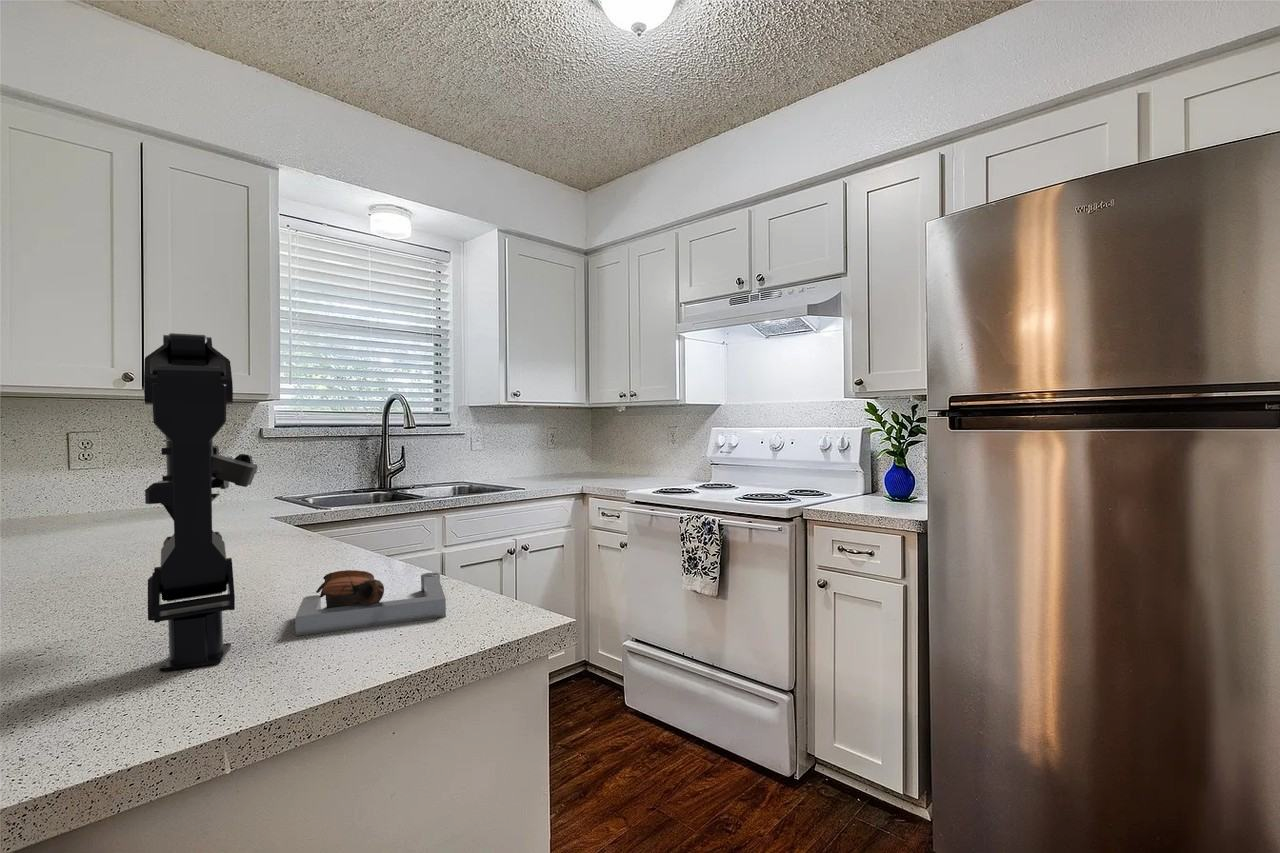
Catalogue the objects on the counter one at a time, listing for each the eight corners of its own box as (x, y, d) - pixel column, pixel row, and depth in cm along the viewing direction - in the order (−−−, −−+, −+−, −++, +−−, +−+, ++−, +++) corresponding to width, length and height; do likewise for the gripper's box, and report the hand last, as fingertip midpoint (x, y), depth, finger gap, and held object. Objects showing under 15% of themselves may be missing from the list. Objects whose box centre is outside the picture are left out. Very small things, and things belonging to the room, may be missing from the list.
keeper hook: (448, 616, 97) (448, 598, 97) (295, 636, 89) (295, 616, 89) (439, 586, 113) (438, 571, 113) (309, 601, 105) (309, 585, 105)
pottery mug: (296, 628, 93) (304, 575, 97) (343, 637, 101) (348, 587, 105) (362, 613, 90) (367, 559, 94) (405, 623, 98) (408, 572, 102)
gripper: (238, 440, 88) (241, 550, 88) (262, 436, 105) (265, 528, 105) (142, 443, 83) (145, 558, 84) (183, 438, 101) (186, 534, 101)
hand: (192, 543), depth 94 cm, fingers closed
